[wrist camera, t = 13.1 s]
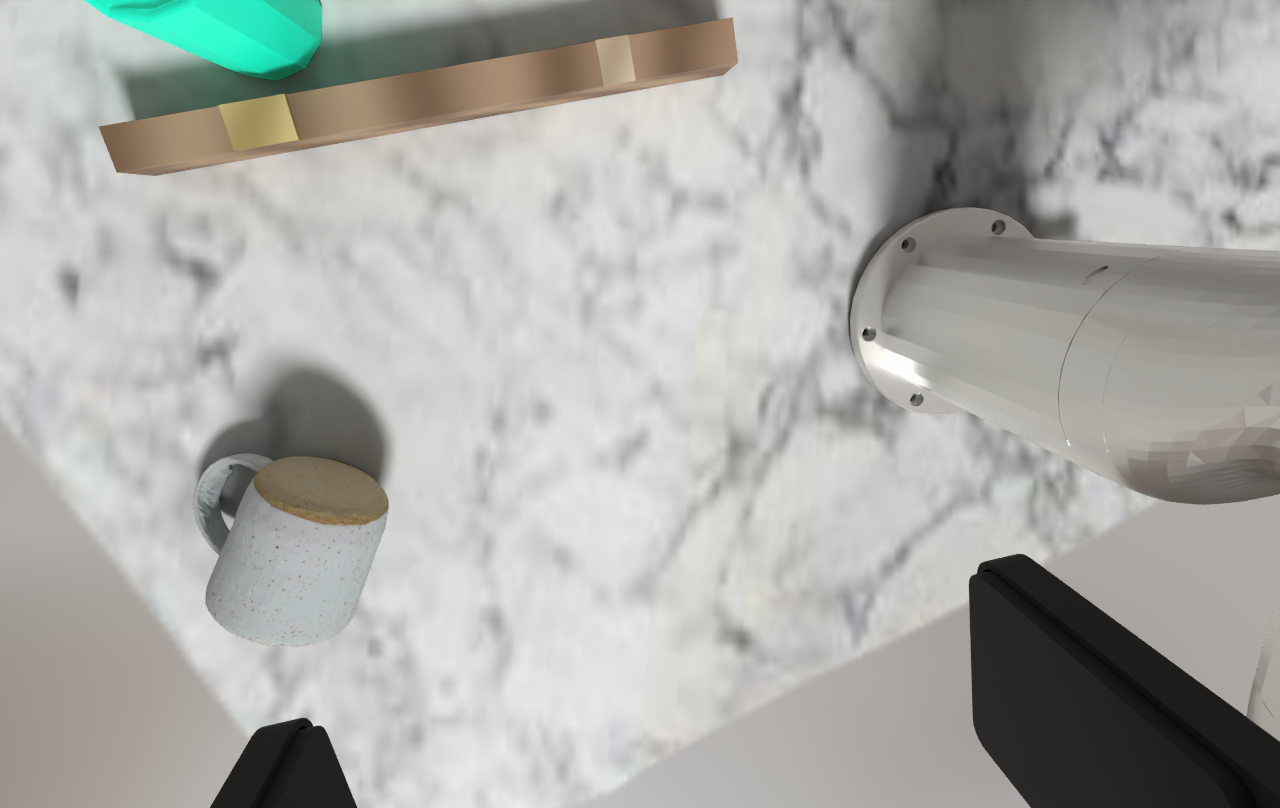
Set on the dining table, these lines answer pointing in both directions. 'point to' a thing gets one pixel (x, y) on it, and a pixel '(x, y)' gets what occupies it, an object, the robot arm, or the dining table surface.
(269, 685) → the dining table surface
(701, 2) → the dining table surface
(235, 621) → the ceramic mug
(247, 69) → the candle
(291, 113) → the rail
